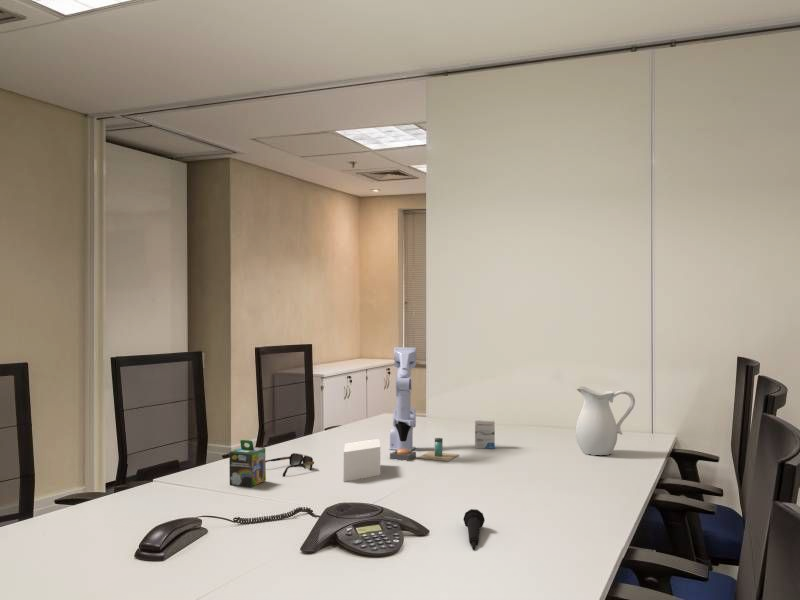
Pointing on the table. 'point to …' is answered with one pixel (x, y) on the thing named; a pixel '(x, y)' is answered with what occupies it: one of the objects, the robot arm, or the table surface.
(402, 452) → the button
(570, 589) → the table surface
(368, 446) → the white rectangular block
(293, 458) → the sunglasses
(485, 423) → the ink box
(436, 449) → the cylindrical container
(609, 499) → the table surface
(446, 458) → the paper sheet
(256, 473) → the chalk box
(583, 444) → the pitcher
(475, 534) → the microphone
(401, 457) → the button frame
